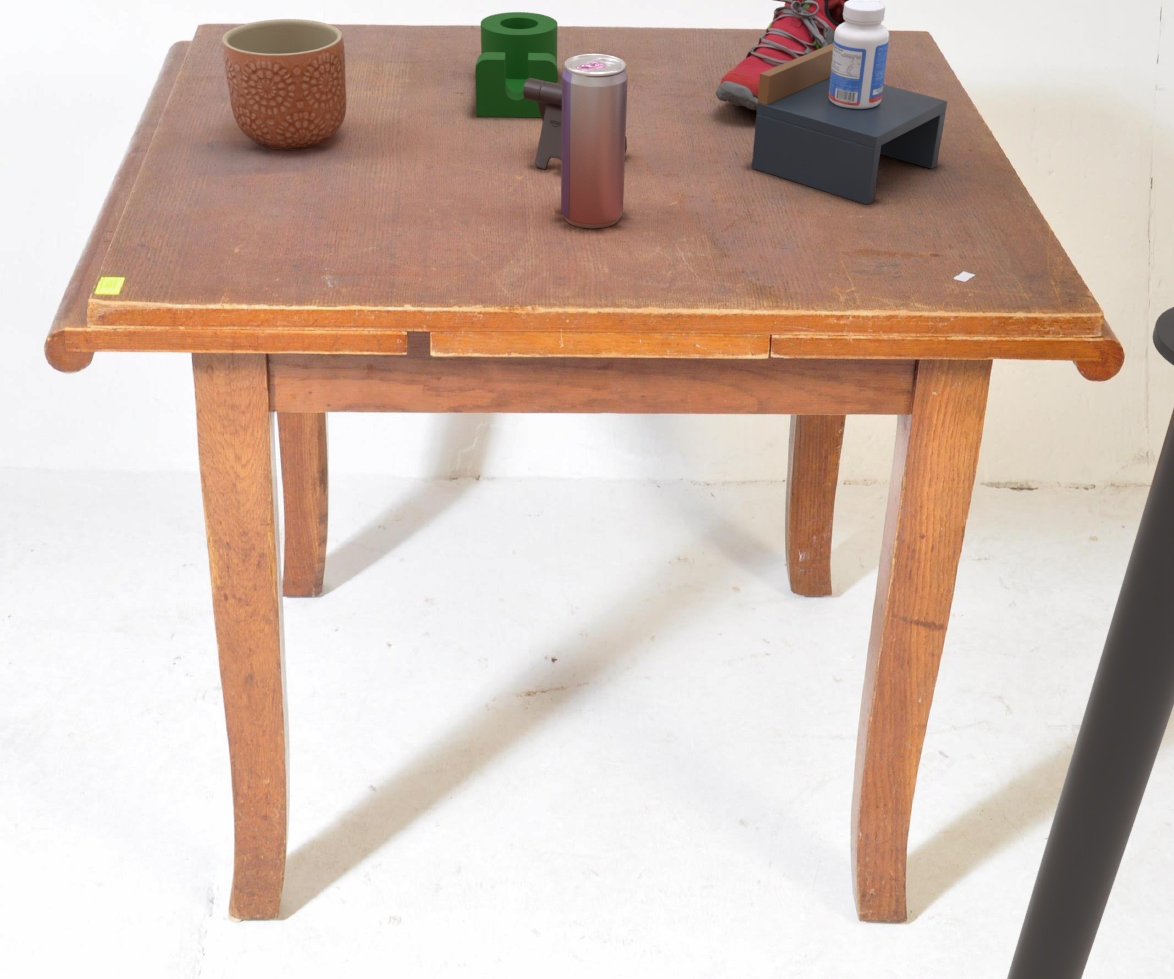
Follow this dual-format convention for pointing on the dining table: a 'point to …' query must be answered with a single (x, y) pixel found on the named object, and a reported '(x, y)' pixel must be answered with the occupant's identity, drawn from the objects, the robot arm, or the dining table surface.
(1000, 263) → the dining table surface
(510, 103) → the slotted cylinder bracket
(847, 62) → the pill bottle
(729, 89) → the athletic shoe
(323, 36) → the planter
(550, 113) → the tablet stand
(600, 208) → the beverage can
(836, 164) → the shelf
